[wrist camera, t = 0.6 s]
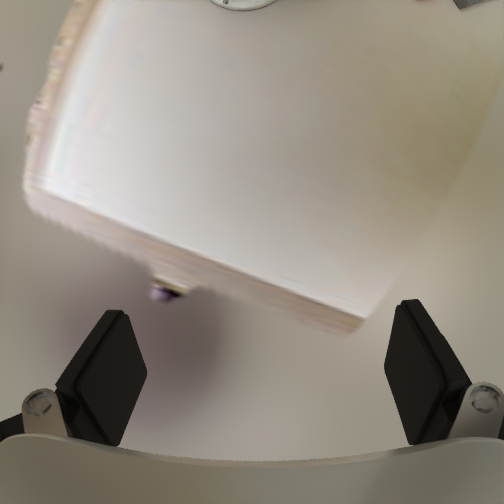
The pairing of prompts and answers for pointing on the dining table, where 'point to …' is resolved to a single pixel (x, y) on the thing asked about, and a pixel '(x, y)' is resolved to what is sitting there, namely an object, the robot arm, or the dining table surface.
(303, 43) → the dining table surface
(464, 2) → the panel
